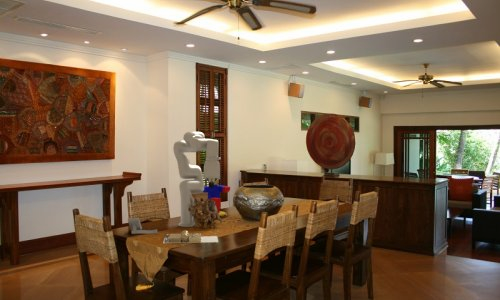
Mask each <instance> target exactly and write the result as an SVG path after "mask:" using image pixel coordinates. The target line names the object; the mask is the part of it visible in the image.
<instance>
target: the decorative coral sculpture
mask: <svg viewBox="0 0 500 300" xmlns="http://www.w3.org/2000/svg"><path fill="white" fill-rule="evenodd" d="M200 206H201V213H203V214H202V215H200V213H199V211H198V208H199V207H200ZM191 208H194V209H191ZM191 208H190V207H189V209H188V211H192V212H193V214H192V216H194V218H193V220H194V222H195V224H194V226H193V228H197V226H199V227H202V224H201V222H203V220H204V224H203V228H207V225H208V223H210V225H209V227H214V229H216V228H217V227H218V226H217V225H216V224H215V223H214V222H215V221H216V219H217V220H218V221H219V222H220V224H222V223H224V219H222V218H221V217H219V214H218V211H217V207H216V205H215V201H213V200H210V199H208V198H207V199H205V200H204V198H203V197H200V199H199V200H197V198H194V206H191ZM199 220H200V222H199Z"/></svg>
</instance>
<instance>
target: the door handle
mask: <svg viewBox="0 0 500 300" xmlns="http://www.w3.org/2000/svg"><path fill="white" fill-rule="evenodd" d="M127 222H128V224H129V227H130V230H131V235H132V236H133V235H141V234H142V235H143V234H145V235H147V234H158V229H151V230H150V229H148V230H146V229H143V227H142V224H141V221H140V218H139V217H133V218H132V217H130V218H127Z"/></svg>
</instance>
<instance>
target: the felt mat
mask: <svg viewBox="0 0 500 300" xmlns="http://www.w3.org/2000/svg"><path fill="white" fill-rule="evenodd" d="M165 239H166V236H165V237H164V238H163V241H162V243H163V244H170V243H169V237H168V239H167V242H166V243H165ZM189 243H190V244H192V243H193V244H194V243H195V244H197V243H219V238H218V236H216V235H212V236H207V235H205V236H202V235H201V242H189V239H188V241H187V242H182V241H181V242H173V243H172V244H189Z"/></svg>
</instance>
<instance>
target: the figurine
mask: <svg viewBox="0 0 500 300" xmlns="http://www.w3.org/2000/svg"><path fill="white" fill-rule="evenodd" d="M210 179H211V189H210V187H209V185H204V191H203V192H202V193H206V194H207V199H210V200H213V201H215V205H216V207H217V211H218V214H219V217H220V216H221V217H225V216H224V215H226V216H228V213H227V212H225V211H222V210H221V211H220V209H221V207H222V198H221V195H220V194H221V193H229V192H230V190H231V186H226V185H221V184H220V185H219V179H218V180H216V181H215V182H214V187H213V189H212V181H213V177H210ZM199 214H200V215H202V214H203V213H202V212H200V213H199ZM221 217H220V218H221Z"/></svg>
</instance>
